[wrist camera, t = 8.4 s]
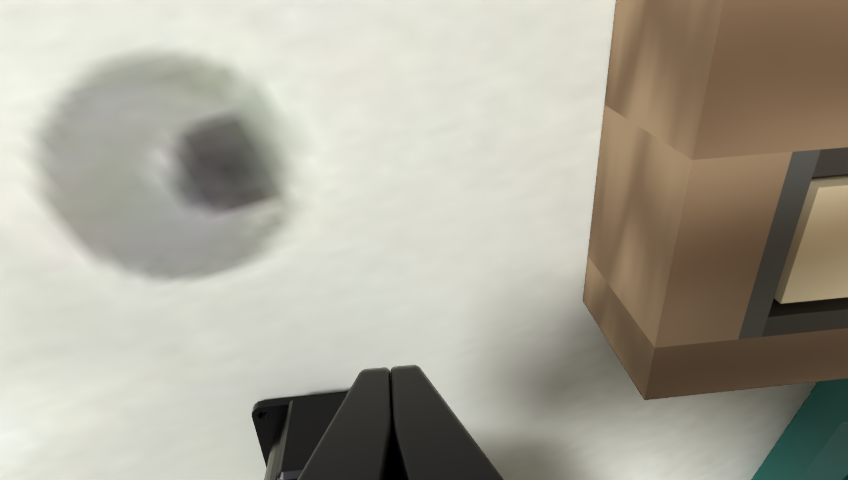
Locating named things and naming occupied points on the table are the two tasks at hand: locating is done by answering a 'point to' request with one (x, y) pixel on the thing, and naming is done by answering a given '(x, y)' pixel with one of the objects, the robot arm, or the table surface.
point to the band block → (716, 191)
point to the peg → (818, 245)
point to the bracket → (813, 438)
